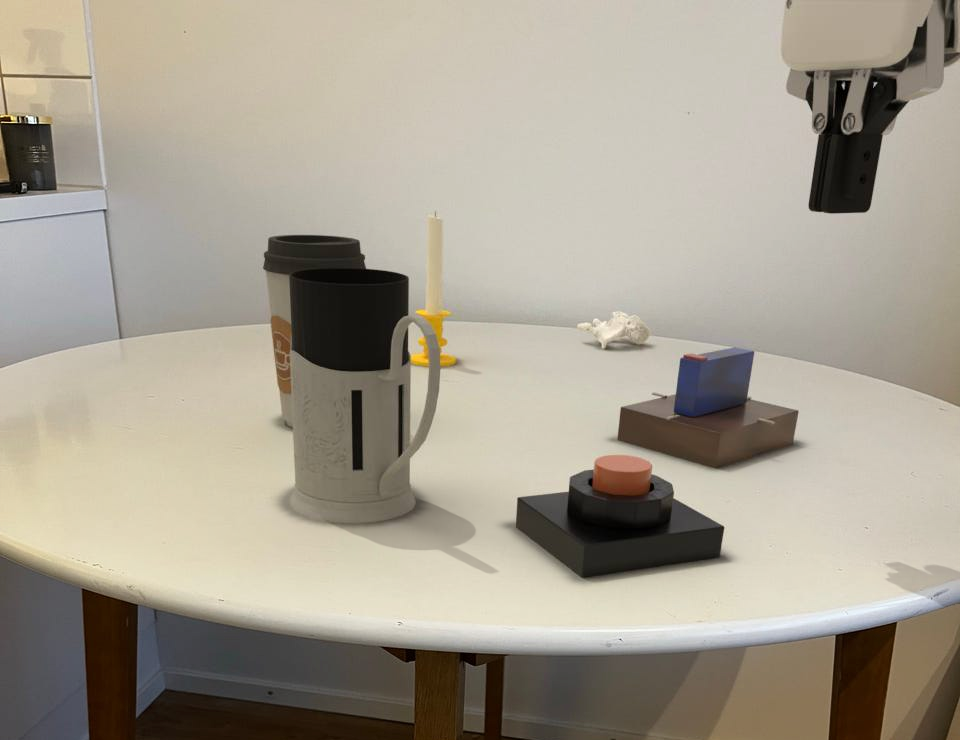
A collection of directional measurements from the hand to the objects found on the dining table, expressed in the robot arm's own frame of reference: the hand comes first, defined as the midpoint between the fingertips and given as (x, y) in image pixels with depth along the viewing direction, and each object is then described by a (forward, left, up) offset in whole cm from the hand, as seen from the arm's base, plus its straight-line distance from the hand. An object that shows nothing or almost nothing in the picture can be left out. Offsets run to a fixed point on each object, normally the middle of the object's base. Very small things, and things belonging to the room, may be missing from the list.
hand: (838, 211), depth 59 cm
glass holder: (+24, -13, -20) cm, 34 cm away
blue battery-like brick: (-9, -21, -17) cm, 28 cm away
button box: (+11, -3, -20) cm, 23 cm away
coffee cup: (+21, -36, -20) cm, 46 cm away
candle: (+2, -57, -20) cm, 60 cm away
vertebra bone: (-24, -61, -20) cm, 68 cm away
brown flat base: (-9, -21, -20) cm, 30 cm away
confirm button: (+11, -3, -17) cm, 20 cm away
